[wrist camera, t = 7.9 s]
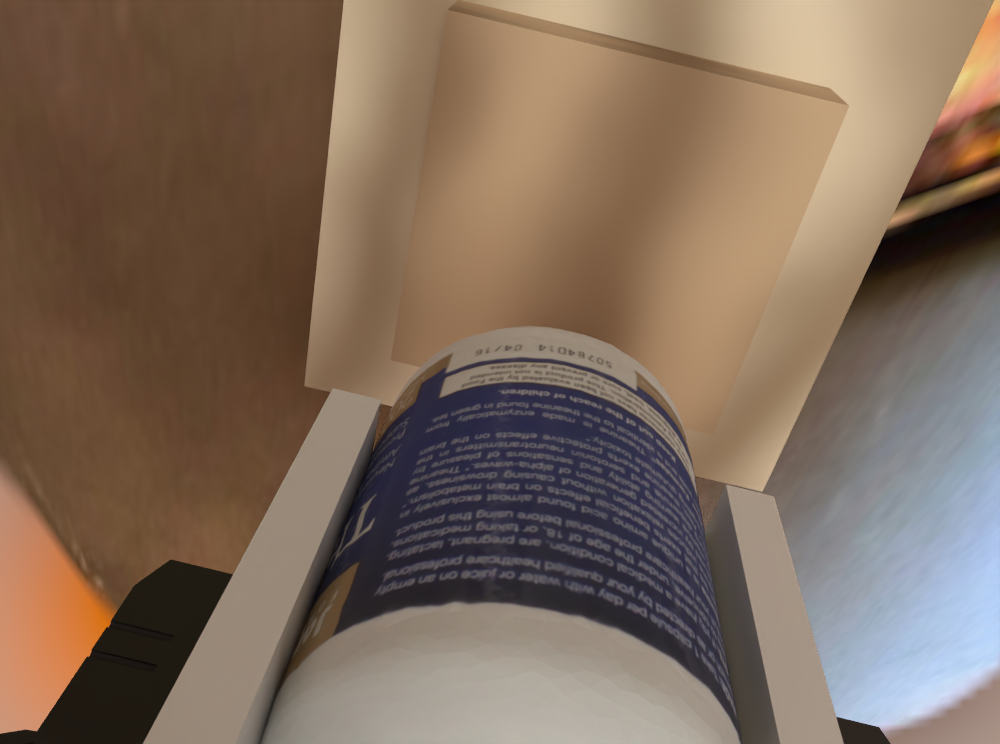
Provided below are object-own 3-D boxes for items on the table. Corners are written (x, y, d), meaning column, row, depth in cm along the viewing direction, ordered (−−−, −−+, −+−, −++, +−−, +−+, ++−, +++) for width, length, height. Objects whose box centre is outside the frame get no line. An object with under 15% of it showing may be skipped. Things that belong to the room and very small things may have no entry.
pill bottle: (369, 315, 14) (39, 936, 6) (697, 314, 14) (869, 1003, 5) (402, 562, 17) (210, 1237, 8) (678, 570, 16) (771, 1303, 8)
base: (320, 357, 30) (285, 418, 27) (378, -158, 22) (338, -164, 19) (753, 457, 31) (772, 530, 27) (967, -16, 23) (1033, 3, 19)
